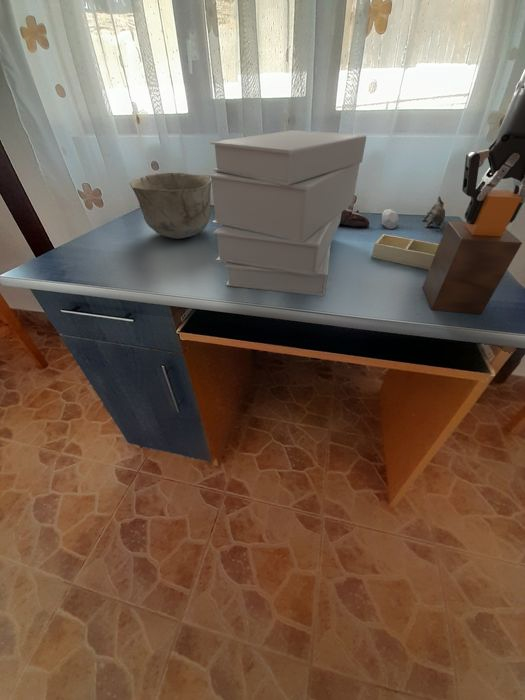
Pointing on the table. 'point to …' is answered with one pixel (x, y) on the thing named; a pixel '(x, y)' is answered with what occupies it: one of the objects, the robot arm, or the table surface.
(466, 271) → the stand
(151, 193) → the bowl
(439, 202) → the grey mottled figurine
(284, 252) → the book stack
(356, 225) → the brown shoe
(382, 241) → the divided box
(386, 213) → the gemstone
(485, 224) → the orange rectangular block
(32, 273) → the table surface
